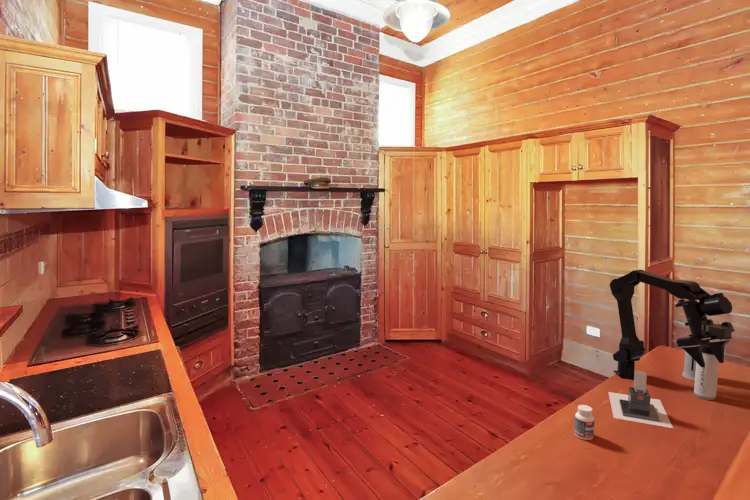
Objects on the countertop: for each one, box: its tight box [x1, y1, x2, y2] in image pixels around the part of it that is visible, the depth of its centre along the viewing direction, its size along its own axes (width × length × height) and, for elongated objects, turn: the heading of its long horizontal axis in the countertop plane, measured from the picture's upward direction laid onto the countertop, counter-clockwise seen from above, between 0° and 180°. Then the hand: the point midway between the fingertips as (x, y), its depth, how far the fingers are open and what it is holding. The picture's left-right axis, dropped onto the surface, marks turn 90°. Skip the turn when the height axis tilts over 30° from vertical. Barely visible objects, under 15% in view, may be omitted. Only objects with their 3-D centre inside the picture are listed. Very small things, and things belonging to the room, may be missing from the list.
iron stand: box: [619, 386, 659, 422], centre depth 139 cm, size 10×10×8 cm
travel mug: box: [693, 341, 720, 401], centre depth 149 cm, size 6×7×20 cm
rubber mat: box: [608, 391, 674, 429], centre depth 142 cm, size 20×16×1 cm
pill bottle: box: [573, 404, 595, 441], centre depth 126 cm, size 5×5×9 cm
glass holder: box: [681, 350, 696, 382], centre depth 163 cm, size 9×14×15 cm, turn 148°
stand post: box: [633, 369, 648, 395], centre depth 139 cm, size 3×3×12 cm
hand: (712, 365), depth 138 cm, fingers open, 9 cm apart
